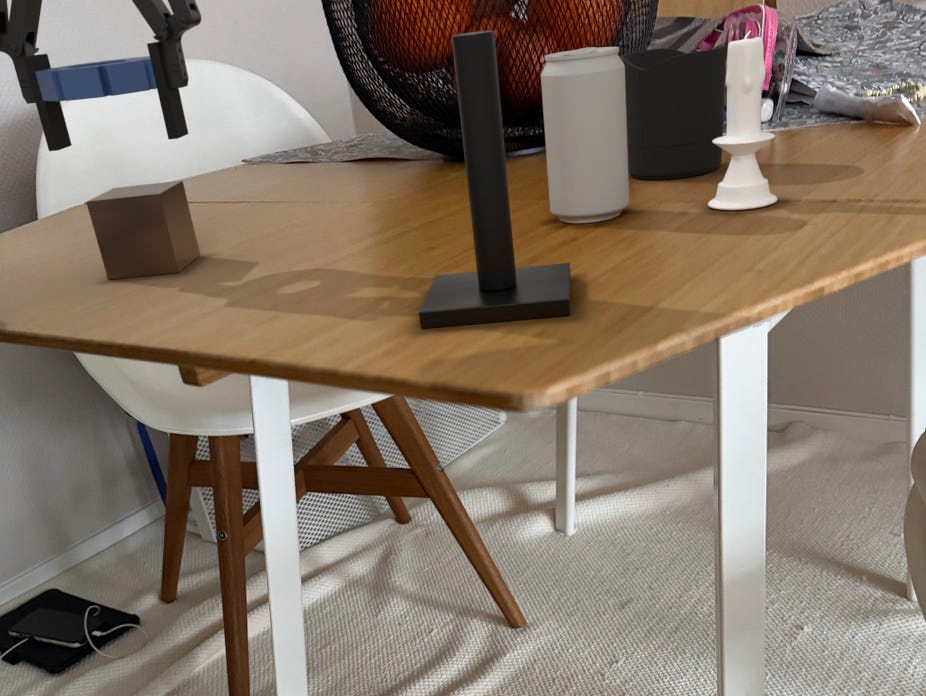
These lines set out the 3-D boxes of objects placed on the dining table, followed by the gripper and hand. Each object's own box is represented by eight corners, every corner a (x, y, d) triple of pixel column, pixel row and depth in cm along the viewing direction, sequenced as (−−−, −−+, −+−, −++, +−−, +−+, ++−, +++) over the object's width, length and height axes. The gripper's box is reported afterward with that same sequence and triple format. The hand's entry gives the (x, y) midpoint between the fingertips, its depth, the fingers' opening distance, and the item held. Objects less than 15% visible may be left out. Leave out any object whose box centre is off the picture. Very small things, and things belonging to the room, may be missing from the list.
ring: (26, 105, 80) (17, 74, 79) (74, 92, 88) (66, 64, 87) (143, 93, 79) (136, 62, 78) (181, 81, 87) (175, 53, 86)
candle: (781, 195, 87) (787, 24, 81) (771, 209, 83) (776, 30, 77) (715, 198, 89) (715, 31, 83) (701, 212, 85) (701, 38, 79)
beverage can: (539, 226, 88) (526, 58, 81) (567, 208, 92) (557, 48, 86) (614, 224, 85) (607, 50, 79) (640, 206, 90) (635, 41, 83)
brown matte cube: (107, 279, 88) (85, 201, 85) (133, 262, 93) (113, 187, 90) (178, 272, 88) (159, 193, 84) (200, 255, 93) (182, 180, 90)
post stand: (420, 328, 66) (382, 48, 58) (436, 290, 73) (404, 37, 66) (570, 315, 65) (551, 27, 57) (570, 277, 72) (554, 19, 65)
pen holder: (705, 158, 106) (705, 42, 101) (740, 171, 98) (742, 46, 93) (612, 171, 106) (607, 55, 100) (639, 185, 98) (635, 60, 92)
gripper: (200, -233, 76) (265, 123, 87) (-92, -192, 78) (9, 148, 90) (166, -250, 69) (240, 135, 81) (-151, -206, 72) (-34, 162, 84)
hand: (119, 142), depth 85 cm, fingers closed on ring, 9 cm apart
